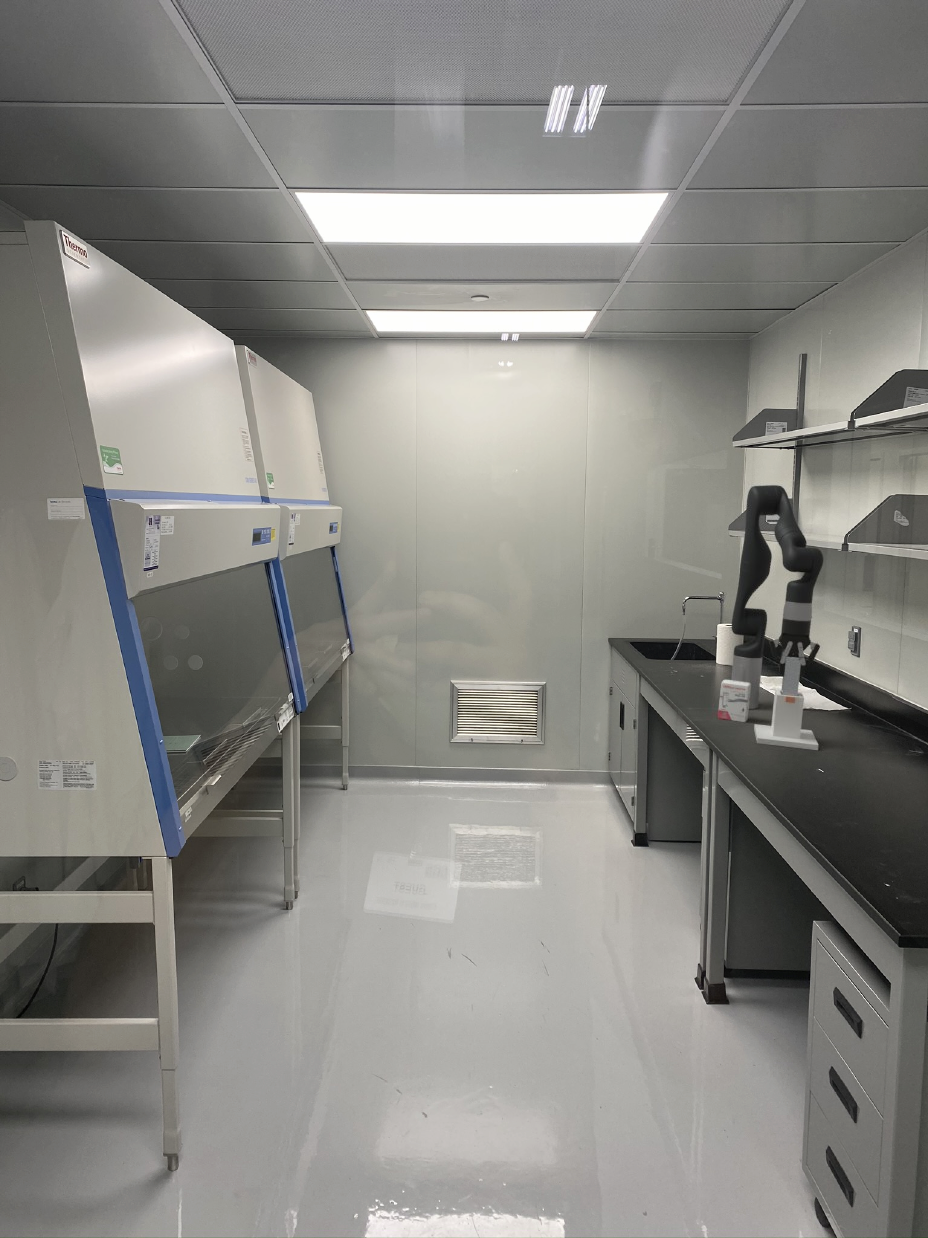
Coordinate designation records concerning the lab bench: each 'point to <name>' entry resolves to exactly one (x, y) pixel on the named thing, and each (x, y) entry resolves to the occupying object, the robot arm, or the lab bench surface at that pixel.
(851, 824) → the lab bench surface
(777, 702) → the stand housing
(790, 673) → the steel post
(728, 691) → the ink box
